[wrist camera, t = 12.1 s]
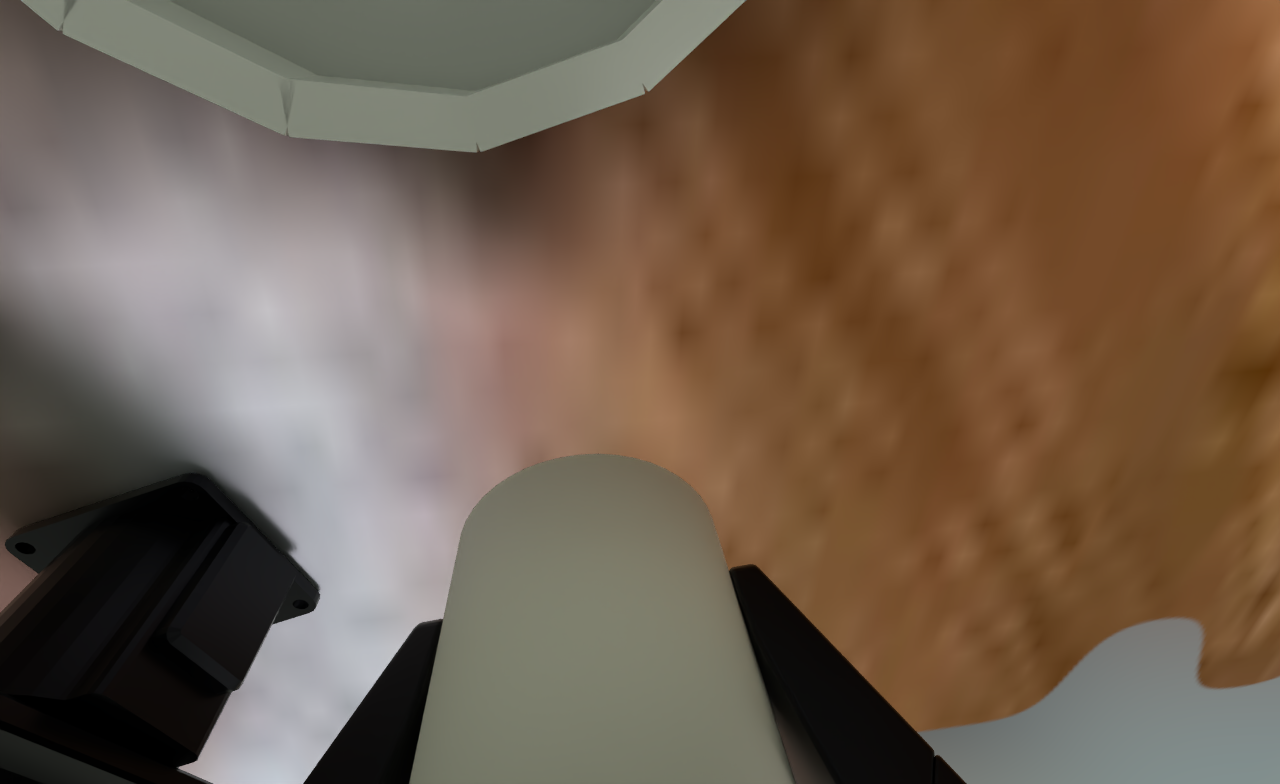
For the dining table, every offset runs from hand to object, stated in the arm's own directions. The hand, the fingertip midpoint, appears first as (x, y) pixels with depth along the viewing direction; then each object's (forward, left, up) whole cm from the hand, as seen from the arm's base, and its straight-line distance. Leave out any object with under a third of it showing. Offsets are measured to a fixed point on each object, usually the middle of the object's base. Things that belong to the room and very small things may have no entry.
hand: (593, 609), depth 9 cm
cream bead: (0, 0, -1) cm, 1 cm away
